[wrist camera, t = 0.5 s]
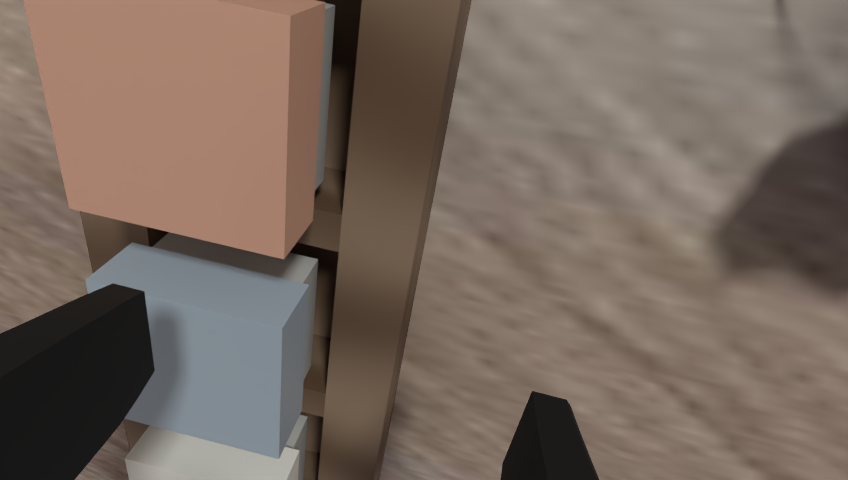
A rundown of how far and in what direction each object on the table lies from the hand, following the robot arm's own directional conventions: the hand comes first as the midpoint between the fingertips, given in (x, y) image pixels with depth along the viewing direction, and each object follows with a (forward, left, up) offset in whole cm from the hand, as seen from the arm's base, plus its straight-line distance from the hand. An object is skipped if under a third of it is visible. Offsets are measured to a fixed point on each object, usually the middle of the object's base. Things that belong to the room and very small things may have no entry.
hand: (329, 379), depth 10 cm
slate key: (-4, +4, -6) cm, 8 cm away
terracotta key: (+3, +4, -6) cm, 8 cm away
